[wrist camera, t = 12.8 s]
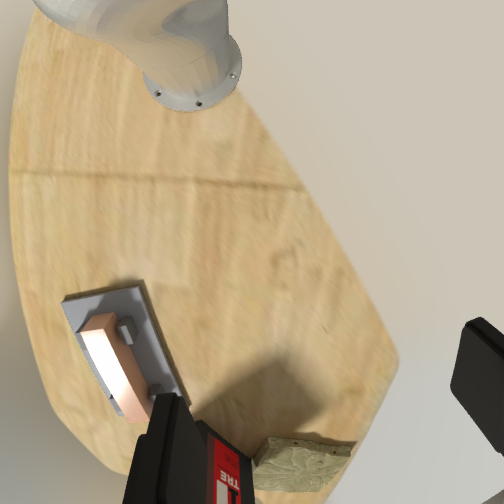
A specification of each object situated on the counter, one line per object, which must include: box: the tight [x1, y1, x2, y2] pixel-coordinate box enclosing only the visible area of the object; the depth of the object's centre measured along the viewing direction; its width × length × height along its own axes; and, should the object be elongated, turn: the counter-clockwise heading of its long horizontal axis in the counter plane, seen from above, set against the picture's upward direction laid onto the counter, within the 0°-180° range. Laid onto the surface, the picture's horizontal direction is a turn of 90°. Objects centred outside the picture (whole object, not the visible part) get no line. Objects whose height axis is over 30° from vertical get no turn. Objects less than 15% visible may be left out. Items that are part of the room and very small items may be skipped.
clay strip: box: [80, 312, 153, 423], centre depth 43 cm, size 18×4×5 cm, turn 12°
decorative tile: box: [252, 437, 351, 493], centre depth 56 cm, size 19×20×4 cm
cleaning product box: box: [195, 420, 255, 504], centre depth 45 cm, size 16×9×20 cm, turn 33°
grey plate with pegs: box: [61, 285, 189, 416], centre depth 45 cm, size 24×14×4 cm, turn 12°
